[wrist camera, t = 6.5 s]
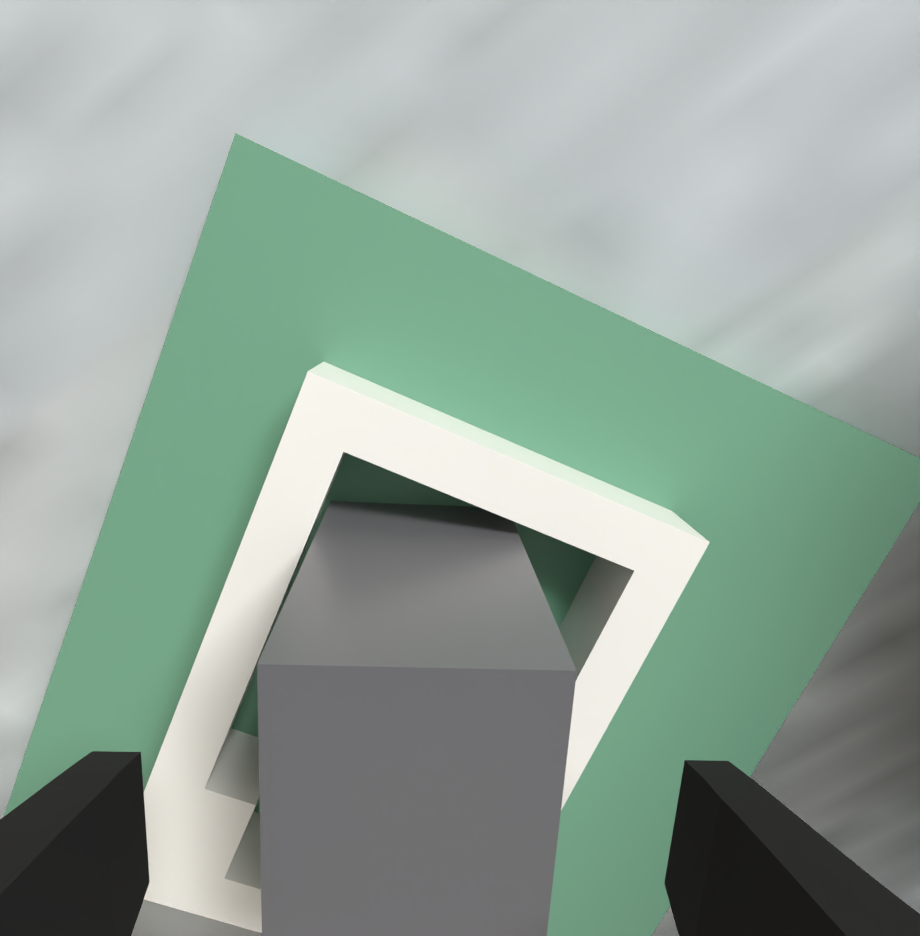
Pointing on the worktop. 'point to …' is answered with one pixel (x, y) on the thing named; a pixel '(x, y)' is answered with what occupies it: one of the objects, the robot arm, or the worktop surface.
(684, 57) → the worktop surface
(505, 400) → the header board
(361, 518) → the plug
